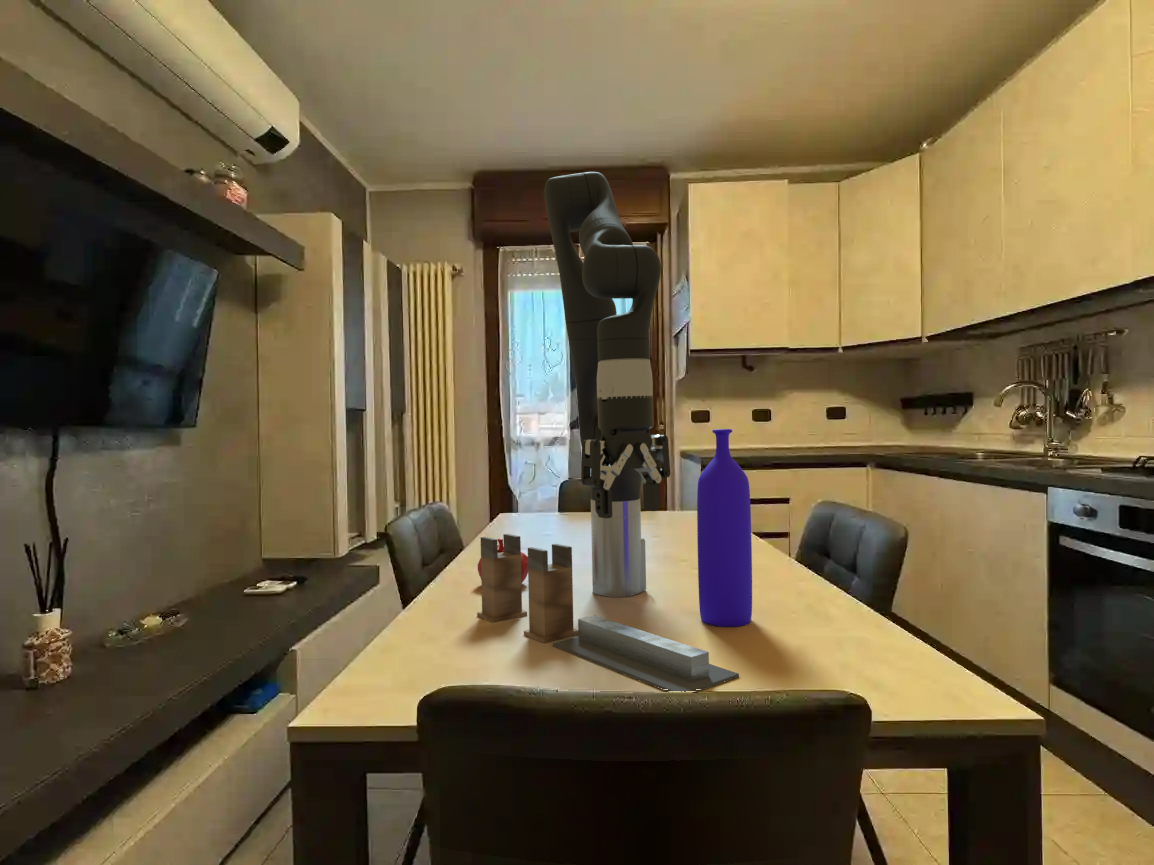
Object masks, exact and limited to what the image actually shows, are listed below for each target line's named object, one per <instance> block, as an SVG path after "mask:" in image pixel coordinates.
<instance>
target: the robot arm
mask: <svg viewBox="0 0 1154 865" xmlns="http://www.w3.org/2000/svg"><path fill="white" fill-rule="evenodd" d="M544 184H545V185H544V192H543V193H544V205H545V210H546V214H547V215H546V216H547V220H548V225H549V229H550V235H551V239H552V244H553V249H554V253H555V258H556V263H557V264H556V265H557V267H558V268H557V269H558V274H559V275H558V276H559V280H560V288H561V295H562V296H561V297H562V303H563V304H562V305H563V311H564V320H565V326H566V327H565V328H566V333H567V341H568V345H569V350H570V356H571V360H572V367H573V368H572V369H573V375H574V380H575V390H576V400H577V401H576V404H577V419H578V428H579V429H578V430H579V431H578V432H579V440H580V446H581V462H580V463H581V464H580V466H581V471H580V472H581V474H580V478H581V479H580V480H581V481H580V482H581V484H582V485H583V486H588V487H590V519H591V520H590V521H591V522H590V524H591V527H590V528H591V532H590V533H591V571H592V572H591V576H592V577H591V578H592V579H591V582H592V593H594V594H596V595H598V596H603V597H604V596H605V597H628V596H629V597H631V596H635V595H638V594H641V593H642V592H643V591H646V590H647V569H646V568H647V567H646V566H647V565H646V562H647V560H646V559H647V558H646V554H647V553H646V540H645V538H643V537H642V516H641V513H642V512H641V509H642V508H641V487H642V490H643V491H642V495H643V496H642V499H643V509H644V510H646V511H651V512H653V511H658V509H659V506H660V499H661V498H660V483H661V482H662V480H663V479H665V478H669V477H670V476H671V464H670V461H671V460H670V451H669V450H670V449H669V437H668V436H667V435H666V434H651V429H652V428H653V427H654V423H655V422H654V416H655V415H654V396H653V395H654V394H653V393H654V390H653V389H654V387H653V386H654V385H653V384H654V383H653V382H654V381H653V371H652V367H651V366H652V365H651V352H650V349H651V348H650V347H651V346H650V345H651V344H650V327H651V320H652V319H651V318H652V314H653V308H654V303H655V299H656V294H657V291H658V287H659V283H660V280H661V274H662V265H661V260H660V257H659V255H658V253H657V252H656V250H655V249H653V248H652V247H651V246H648V245H643V244H634V243H633V241H632V238H631V236H630V235H629V233H628V232H627V231H626V229H625V227H624V226H623V224H622V222H621V220H620V217H619V212H618V209H617V205H616V201H615V198H614V195H613V192H612V189H611V186H610V183H609V182H608V180H607V178H606V176H605V175H603V173H600V172H597V171H587V172H586V171H585V172H579V173H573V174H566V175H559V176H554V177H550V178H547V179H546V181H545V183H544ZM573 232H579V233H578V243H579V247H580V249H581V251H582V255H583V256H584V259H583V260H582V259H581V256H580V255H579V253H578V252H577V249H576V248H575V245H574V242H573V240H572V238H571V233H573ZM613 299H614V300H615V299H617V300H618V299H632V303H631V307H630V308H629V310H628V311H626V312H623V313H620V314H617V306H616V303H615V301H614V300H613ZM642 480H643V482H645V483H642ZM641 483H642V484H641Z"/></svg>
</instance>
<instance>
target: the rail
mask: <svg viewBox="0 0 1154 865" xmlns="http://www.w3.org/2000/svg"><path fill="white" fill-rule="evenodd" d="M577 627H578V629H577V630H578V635H577V637H578V640H580V641H582V642H585V643H588V644H590V645H593V646H596V647H598V648H601V649H604V650H606V651H609V652H612V653H614V654H617V655H620V656H622V657H625V658H628V659H630V660H633V661H636V662H638V663H641V664H644V665H646V666H649V667H652V668H654V669H657V670H659V671H662V672H665V673H667V674H670V675H673V676H675V677H678V678H681V679H683V680H686V681H689V682H691V683H692V682H695V681H698V680H701V679H704V678H707V677H709V664H710V656H709V655H710V653H709V651H707V650H703V649H701V648H697V647H695V646H691V645H688V644H685V643H681V642H679V641H675V640H672V639H669V638H666V637H662V636H660V635H657V634H653V633H651V632H648V631H644V630H642V629H638V628H636V627H632V626H629V625H625V624H623V623H619V622H616V621H615V620H614V621H613V620H610V619H607V618H603V617H602V616H598V615H591V616H586V617H581V618H578V619H577Z"/></svg>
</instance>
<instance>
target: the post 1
mask: <svg viewBox="0 0 1154 865" xmlns="http://www.w3.org/2000/svg"><path fill="white" fill-rule="evenodd" d="M479 539H480V558H481V577H480V580H481V581H480V582H481V611H477V612H476V616H477V617H478V618H481V619H483V620H486V621H489V622H491V623H497V622H503V621H508V620H513V619H516V618H522V617H527V616H528V611H526V610H523V596H522V595H523V594H522V583H521V552H522V550H521V549H522V547H521V544H522V543H521V536H520V535H515V534H510V533H504V534H503V538H502V539H503V547H504V552H501V553H498V547H497V545H498V538H493V537H488V536H487V537H486V536H481V537H480V538H479Z"/></svg>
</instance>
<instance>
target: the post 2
mask: <svg viewBox="0 0 1154 865" xmlns="http://www.w3.org/2000/svg"><path fill="white" fill-rule="evenodd" d="M548 551H549V550H546V549H541V548H537V547H533V546H532V547H527V557H528V574H527V576H528V577H527V580H528V581H527V583H528V585H527V586H528V622H529V623H528V624H529V626H528V627H529V629H526V630H523V636H525V637H528V638H531V639H533V640H535V641H539V642H540V643H543V644H546V643H549V642H553V641H558V640H563V639H566V638H569V637H573V636H578V629H577V628H574V595H573V594H574V592H573V591H574V589H573V587H574V586H573V547H572V546H570V545H569V546H568V545H564V544H561V543H551V563H549V558H548V557H549V555H548V554H549V552H548Z"/></svg>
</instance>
